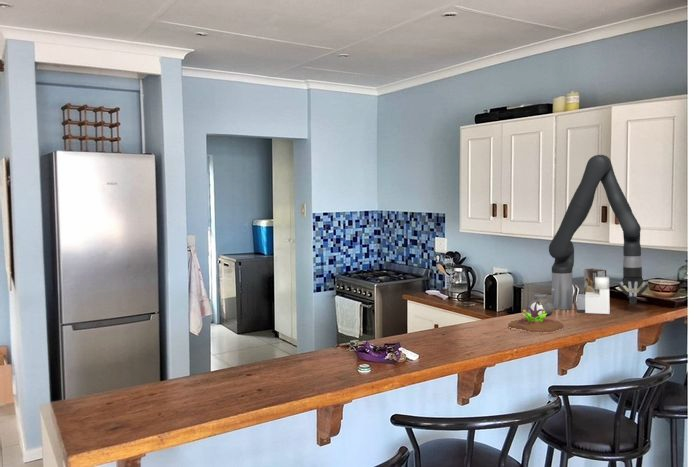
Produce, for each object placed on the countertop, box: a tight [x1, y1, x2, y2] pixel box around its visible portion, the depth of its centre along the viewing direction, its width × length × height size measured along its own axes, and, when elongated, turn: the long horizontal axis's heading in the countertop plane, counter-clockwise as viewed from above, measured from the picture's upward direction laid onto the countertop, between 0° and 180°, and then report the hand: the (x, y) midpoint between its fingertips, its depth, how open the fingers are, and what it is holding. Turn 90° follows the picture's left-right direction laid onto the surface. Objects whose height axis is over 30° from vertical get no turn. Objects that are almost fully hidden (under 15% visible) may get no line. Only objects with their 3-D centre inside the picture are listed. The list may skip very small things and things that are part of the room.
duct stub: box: [576, 293, 586, 314], centre depth 262 cm, size 9×6×8 cm, turn 65°
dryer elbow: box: [584, 276, 611, 315], centre depth 260 cm, size 10×8×16 cm
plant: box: [507, 301, 564, 333], centre depth 236 cm, size 20×20×11 cm
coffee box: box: [583, 268, 607, 294], centre depth 285 cm, size 9×6×16 cm
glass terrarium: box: [527, 294, 555, 316], centre depth 257 cm, size 12×8×10 cm
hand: (633, 304), depth 254 cm, fingers closed
